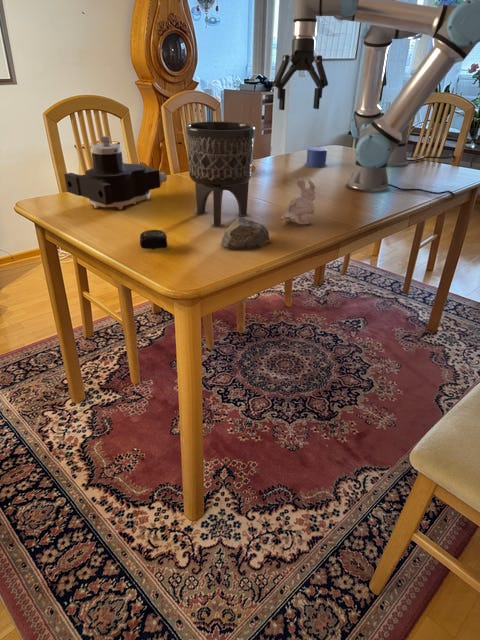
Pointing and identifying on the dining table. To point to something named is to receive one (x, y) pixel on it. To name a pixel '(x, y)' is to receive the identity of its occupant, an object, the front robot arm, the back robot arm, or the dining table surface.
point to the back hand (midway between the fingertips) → (372, 99)
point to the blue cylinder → (316, 157)
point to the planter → (220, 162)
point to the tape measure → (153, 239)
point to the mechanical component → (113, 178)
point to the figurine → (301, 204)
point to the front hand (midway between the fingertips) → (299, 109)
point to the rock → (245, 234)
